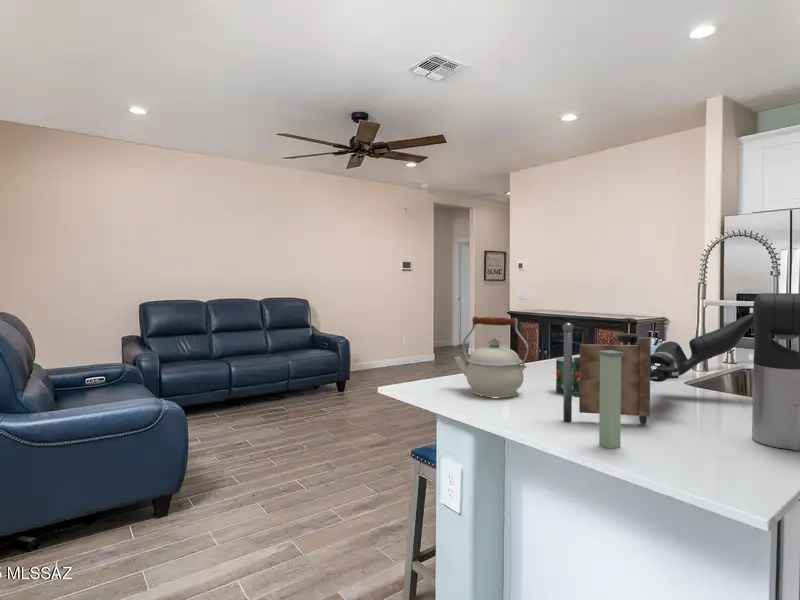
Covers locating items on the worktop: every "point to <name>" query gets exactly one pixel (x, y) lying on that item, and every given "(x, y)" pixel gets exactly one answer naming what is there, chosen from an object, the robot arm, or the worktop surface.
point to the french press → (628, 334)
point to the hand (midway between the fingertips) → (643, 375)
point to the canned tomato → (561, 376)
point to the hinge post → (567, 372)
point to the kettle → (493, 364)
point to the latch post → (610, 398)
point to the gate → (632, 378)
